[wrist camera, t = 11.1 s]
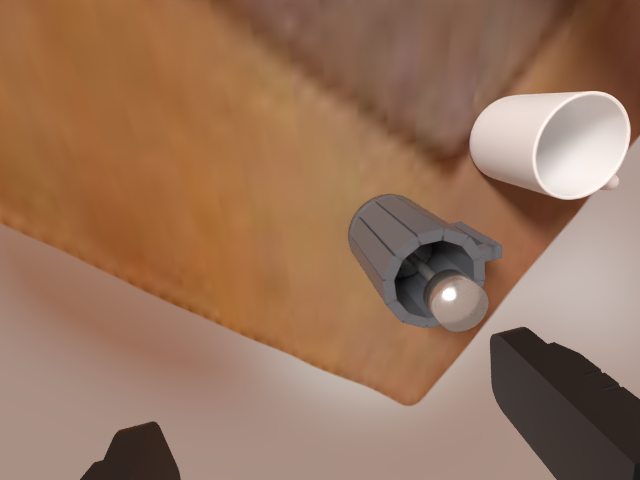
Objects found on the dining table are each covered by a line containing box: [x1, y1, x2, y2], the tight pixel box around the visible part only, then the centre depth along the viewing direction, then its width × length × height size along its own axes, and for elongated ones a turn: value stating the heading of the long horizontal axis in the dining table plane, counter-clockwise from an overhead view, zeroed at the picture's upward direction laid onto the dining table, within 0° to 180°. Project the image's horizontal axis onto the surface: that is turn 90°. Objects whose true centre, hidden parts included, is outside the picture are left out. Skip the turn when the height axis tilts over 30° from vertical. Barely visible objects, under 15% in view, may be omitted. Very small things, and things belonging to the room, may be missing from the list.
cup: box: [470, 91, 630, 200], centre depth 35 cm, size 8×12×10 cm
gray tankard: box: [348, 194, 502, 328], centre depth 35 cm, size 8×11×12 cm
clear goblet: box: [396, 243, 489, 332], centre depth 31 cm, size 5×5×12 cm
